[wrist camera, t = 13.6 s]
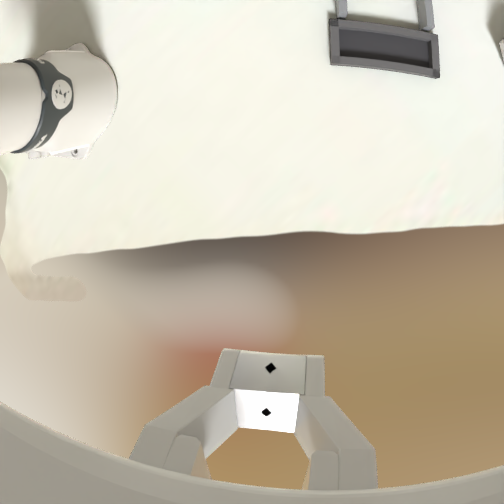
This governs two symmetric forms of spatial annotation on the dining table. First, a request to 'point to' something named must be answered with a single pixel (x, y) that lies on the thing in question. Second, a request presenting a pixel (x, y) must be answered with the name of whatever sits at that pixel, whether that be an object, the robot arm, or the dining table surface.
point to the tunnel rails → (422, 4)
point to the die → (502, 47)
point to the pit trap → (384, 47)
